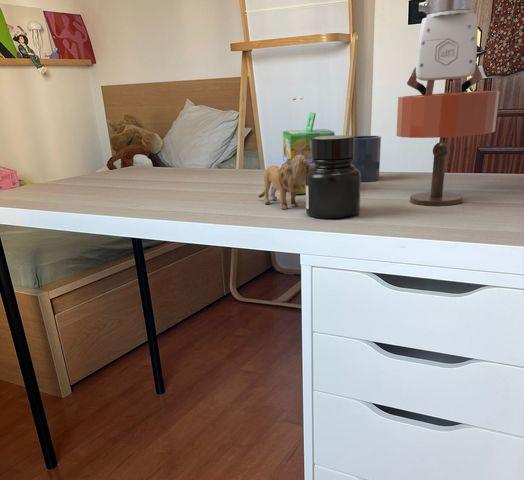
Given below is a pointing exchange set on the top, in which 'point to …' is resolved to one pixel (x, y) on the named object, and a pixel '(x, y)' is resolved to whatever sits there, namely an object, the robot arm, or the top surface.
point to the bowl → (447, 114)
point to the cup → (367, 157)
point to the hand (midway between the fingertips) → (440, 120)
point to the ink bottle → (333, 178)
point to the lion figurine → (286, 179)
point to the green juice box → (302, 144)
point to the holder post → (437, 182)
